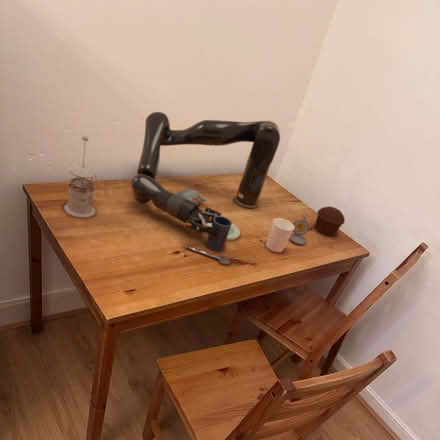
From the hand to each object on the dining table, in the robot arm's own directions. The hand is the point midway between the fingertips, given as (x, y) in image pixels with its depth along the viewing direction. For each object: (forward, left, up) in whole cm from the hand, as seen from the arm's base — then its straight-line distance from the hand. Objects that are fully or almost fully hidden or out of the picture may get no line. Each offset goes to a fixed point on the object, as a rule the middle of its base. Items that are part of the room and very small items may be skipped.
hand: (222, 229), depth 144 cm
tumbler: (0, -1, -7) cm, 7 cm away
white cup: (-13, +19, -7) cm, 24 cm away
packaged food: (-23, -17, -7) cm, 30 cm away
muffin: (-41, +38, -7) cm, 57 cm away
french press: (+6, -47, -7) cm, 48 cm away
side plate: (-12, -1, -7) cm, 14 cm away
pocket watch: (-25, +27, -7) cm, 38 cm away
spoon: (+7, -2, -7) cm, 10 cm away
